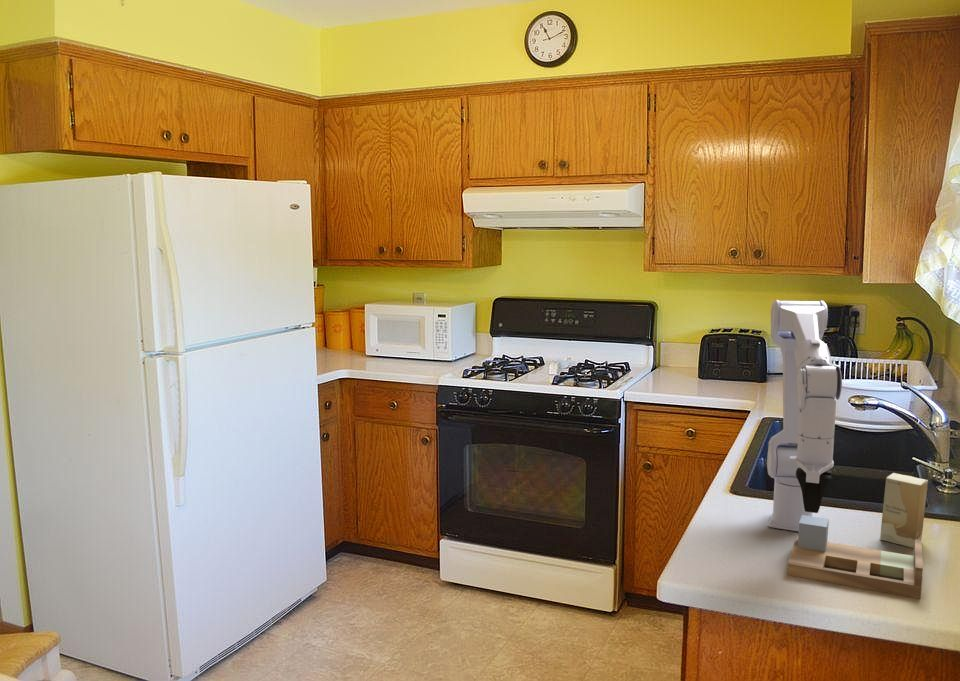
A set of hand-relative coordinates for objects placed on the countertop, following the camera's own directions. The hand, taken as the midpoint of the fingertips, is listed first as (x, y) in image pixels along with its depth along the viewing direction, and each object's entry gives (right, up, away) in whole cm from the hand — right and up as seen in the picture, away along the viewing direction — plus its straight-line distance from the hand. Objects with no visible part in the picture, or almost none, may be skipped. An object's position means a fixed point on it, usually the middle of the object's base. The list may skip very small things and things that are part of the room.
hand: (811, 511), depth 145 cm
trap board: (+6, -10, -2) cm, 12 cm away
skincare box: (+21, -8, +11) cm, 25 cm away
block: (+2, -7, +4) cm, 8 cm away
